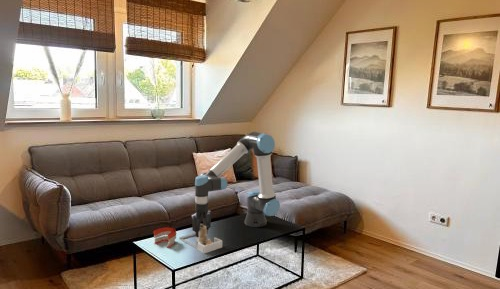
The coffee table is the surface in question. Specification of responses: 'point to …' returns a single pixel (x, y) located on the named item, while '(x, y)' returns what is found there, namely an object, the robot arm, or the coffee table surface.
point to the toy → (165, 231)
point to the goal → (210, 246)
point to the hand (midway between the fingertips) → (201, 240)
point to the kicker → (203, 235)
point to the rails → (187, 237)
